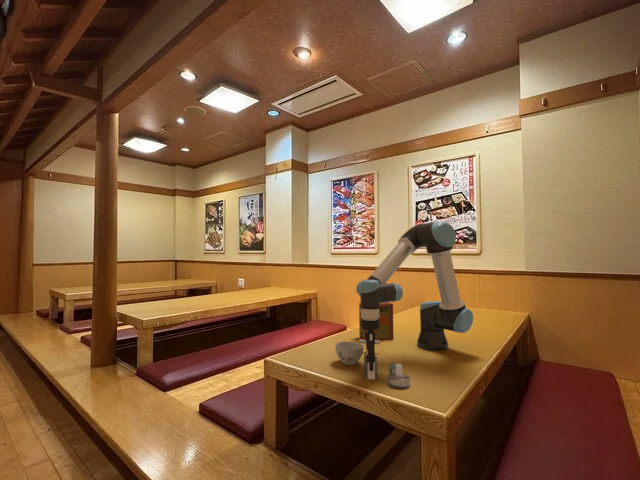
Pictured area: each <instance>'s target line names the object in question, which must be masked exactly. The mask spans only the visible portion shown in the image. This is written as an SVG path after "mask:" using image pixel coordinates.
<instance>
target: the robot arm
mask: <svg viewBox="0 0 640 480" xmlns="http://www.w3.org/2000/svg"><path fill="white" fill-rule="evenodd" d="M456 240H457V233H456V231H455V229H454V227H453V225H452V224H451V223H449V222H446V221H434V222H432V221H431V222H426V223H419V224H415V225H413V226H412V227H410V228H409V229H408V230H406V232H405V233H404V234H402V236H401V237H400V238H399V239H398V241H397V244H396V245H395V247H394V248H393V249H392V250H391V251H390V252H389V253H388V255H387V256H386V257H385V258H384V259H383V260H382V262H381V263H380V264H379V265H378V266H377V267H376V268H375V270H373V272H372V273H371V274H370V275H369V276H368V278H367V279H363V280H360V281H359V282H358V283H357V284H356V288H355V289H356V293H357V295H358V296H360V303H361V310H359V309H358V313H359V312H361V318H362V319H361V328H362V329H364V330H366V332H365V338H366V344H365V349H366V350H365V355H368V360H366V362H368V377H367V380H376V378H375V355H376V353H375V352H376V351H375V349H376V348H375V345H376V344H375V333H373V330H378V329H379V328H380V322H379V318H380V308H379V303H382V302H389V303H392V302H393V303H394V302H397V301H401V299H402V298H403V294H404V291H403V288H402V286H401V284H399V283H391V282H390V283H387V282H388V281H389V279H390V278H391V277H392V276H393V275H394V273H395V272H396V271H398V269H399V268H400V267H401V265H402V264H403V263H404V262H405V260H406V259H407V258H408V256H410V255H411V254H414V253H415V252H416V251H417V250H418V249H420V248H425V249H426V250H425V251H426V253H427V254H429V256H431V260H432V266H433V270H434V273H435V274H434V275H435V279H436V283H437V289H438V291H439V297H440V300H437V301H436V300H435V301H434V300H433V301H423V302H421V303H420V305H419V319H420V320H419V322H420V323H419V324H420V331H419V334H418V337H417V340H416V343H417V344H416V346H417V347H419V348H421V349H424V350H429V351H444V350H447V349H449V342H448V339H447V337H446V334H445V330H447V331H451V332H454V333H460V334H464V333H467V332H468V331H469V330H470V329H471V327H472V325H473V322H474V313H473V312H472V310H471V309H470V308H466V303H465V301H464V300H462V299H461V296H460V291H459V287H458V282H457V277H456V274H455V269H454V264H453V259H452V254H451V252H452V250H453V249H454V247H453V246H454V245H455V243H456ZM370 358H373V359H370Z"/></svg>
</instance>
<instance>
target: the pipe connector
mask: <svg viewBox="0 0 640 480" xmlns="http://www.w3.org/2000/svg"><path fill="white" fill-rule="evenodd" d="M358 343H359V344H364V345H366V340H362V339H358ZM380 344H381V341H379V340H375V345H380Z"/></svg>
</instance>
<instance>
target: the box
mask: <svg viewBox="0 0 640 480" xmlns="http://www.w3.org/2000/svg"><path fill="white" fill-rule="evenodd" d="M358 304H359V307H358V308H359V309H358V316H359V318H358V321H359V324H358V325H359V327H358V329H359V333H358V334H359V339H360V340H366V338H365V332H366V330H364V329H362V328H361V319H362V318H361V312H359V310H361V302H359V303H358ZM379 308H380V318H379V322H380V328H379V329H378V330H373V333H375V340H379V341H380V342H382V341H383V342H384V340H386V341H394V303H392V302H382V303H379Z"/></svg>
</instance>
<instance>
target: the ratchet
mask: <svg viewBox="0 0 640 480" xmlns="http://www.w3.org/2000/svg"><path fill="white" fill-rule="evenodd" d="M389 371H390V373H389V374H388V375H387V384H388V386H390V387H391V388H394V389H399V390H405V389H409V388H410V387H411V378H410V376H408V374H404V373H403V365H402V363H389Z"/></svg>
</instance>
